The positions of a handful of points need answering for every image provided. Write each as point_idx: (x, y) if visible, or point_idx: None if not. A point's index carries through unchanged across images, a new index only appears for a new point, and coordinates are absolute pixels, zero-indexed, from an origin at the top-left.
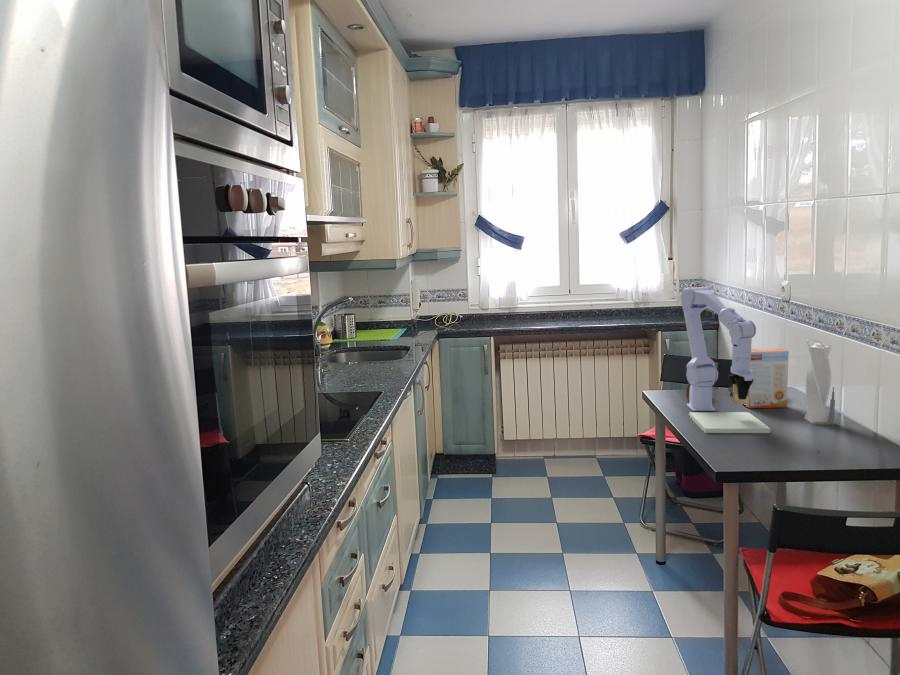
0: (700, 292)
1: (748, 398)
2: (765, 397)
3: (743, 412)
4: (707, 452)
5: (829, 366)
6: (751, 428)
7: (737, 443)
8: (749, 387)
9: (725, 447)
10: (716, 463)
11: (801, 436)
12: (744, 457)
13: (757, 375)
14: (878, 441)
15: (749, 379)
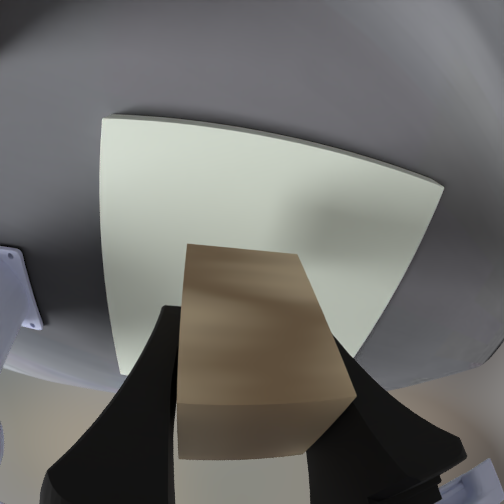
0: None
1: (309, 291)
2: None
3: (105, 155)
4: (434, 373)
5: None
6: (411, 260)
7: (440, 320)
8: (395, 399)
9: (439, 346)
10: (468, 365)
11: (490, 94)
12: (486, 327)
13: None
14: None
15: (480, 474)
